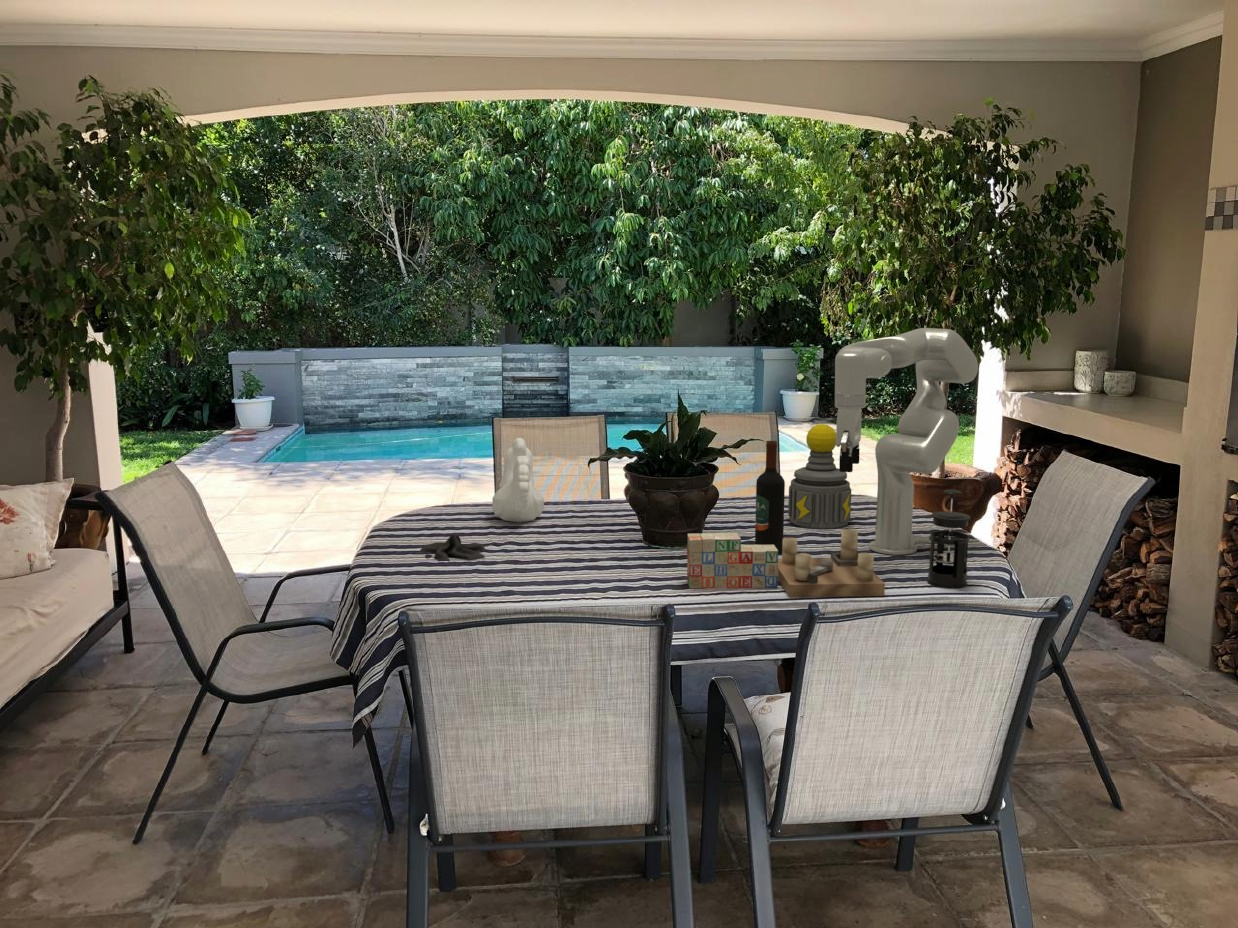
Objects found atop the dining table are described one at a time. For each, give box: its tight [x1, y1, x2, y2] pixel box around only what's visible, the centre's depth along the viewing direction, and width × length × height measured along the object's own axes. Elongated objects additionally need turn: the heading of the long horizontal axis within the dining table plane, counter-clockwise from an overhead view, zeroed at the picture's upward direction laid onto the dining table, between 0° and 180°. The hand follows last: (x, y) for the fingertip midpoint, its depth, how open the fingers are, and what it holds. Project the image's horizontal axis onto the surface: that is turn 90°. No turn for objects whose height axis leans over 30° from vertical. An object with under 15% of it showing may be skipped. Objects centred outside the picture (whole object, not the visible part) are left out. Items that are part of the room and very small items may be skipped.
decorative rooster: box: [491, 437, 545, 523], centre depth 317 cm, size 25×16×25 cm, turn 179°
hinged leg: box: [795, 553, 833, 581], centre depth 253 cm, size 14×4×6 cm, turn 138°
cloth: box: [418, 532, 487, 562], centre depth 283 cm, size 22×19×6 cm
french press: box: [926, 489, 971, 590], centre depth 255 cm, size 12×9×23 cm
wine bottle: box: [754, 440, 786, 555], centre depth 284 cm, size 8×8×30 cm
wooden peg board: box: [778, 537, 886, 598], centre depth 257 cm, size 22×22×9 cm
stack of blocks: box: [686, 532, 779, 589], centre depth 255 cm, size 21×6×12 cm, turn 91°
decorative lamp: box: [787, 423, 852, 530], centre depth 317 cm, size 19×19×30 cm
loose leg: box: [840, 528, 859, 561], centre depth 264 cm, size 4×4×8 cm
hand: (849, 467), depth 269 cm, fingers open, 9 cm apart
